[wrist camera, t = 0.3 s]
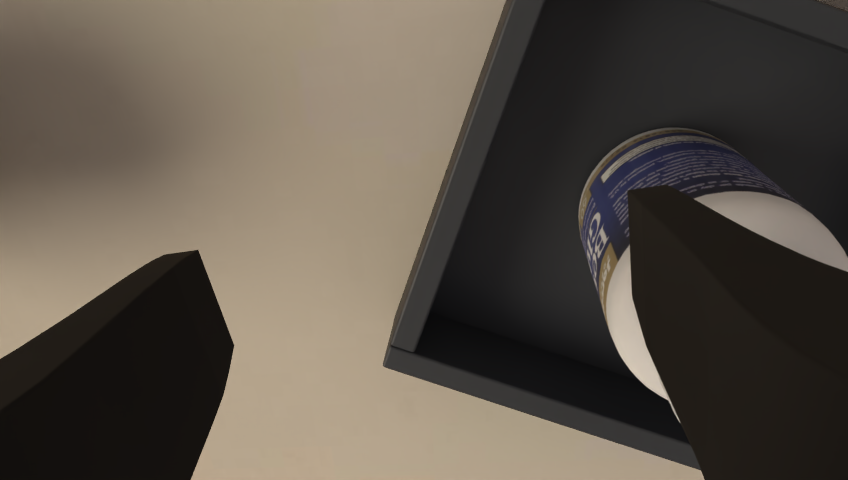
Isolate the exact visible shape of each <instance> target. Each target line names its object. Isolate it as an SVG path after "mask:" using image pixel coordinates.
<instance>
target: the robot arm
mask: <svg viewBox="0 0 848 480" xmlns="http://www.w3.org/2000/svg"><path fill="white" fill-rule="evenodd" d="M627 194H628V217H629V240H630V263H631V287H632V299H633V302H634V306H635V309H636V313H637V316H638V320H639V324H640V327H641V330H642V334H643V337H644V340H645V344H646V347H647V349H648V351H649V354H650V356H651V358H652V361H653V363H654V365H655V367H656V370H657V372H658V374H659V376H660V379H661V381H662V383H663V385H664V388H665V390H666V392H667V394H668V396H669V399H670V401H671V403H672V405H673V407H674V410H675V412H676V414H677V416H678V418H679V421H680V423H681V425H682V427H683V430H684V432H685V434H686V436H687V438H688V441H689V443H690V445H691V447H692V449H693V452H694V454H695V456H696V459H697V461H698V464H699V466H700V469H701V471H702V474H703V476H704V479H705V480H848V272H847V271H844V270H841V269H838V268H836V267H833V266H830V265H827V264H824V263H822V262H819V261H817V260H814V259H812V258H809V257H807V256H805V255H802V254H800V253H798V252H796V251H793V250H791V249H789V248H787V247H785V246H782V245H780V244H778V243H776V242H774V241H771V240H769V239H767V238H765V237H763V236H761V235H759V234H757V233H755V232H753V231H751V230H749V229H747V228H745V227H743V226H742V225H740V224H738V223H736V222H734V221H732V220H730V219H729V218H727V217H725V216H723V215H721V214H720V213H718V212H716V211H714V210H712V209H711V208H709V207H707V206H705V205H704V204H702V203H700V202H698V201H697V200H695V199H693V198H691V197H690V196H688V195H686V194H684V193H683V192H681V191H679V190H677V189H675V188H673V187H671V186H669V185H660V186H653V187H646V188H639V189H632V190H627ZM233 348H234V344H233V341H232V339H231V336H230V333H229V331H228V328H227V325H226V323H225V320H224V317H223V315H222V312H221V309H220V307H219V304H218V301H217V299H216V296H215V294H214V291H213V288H212V286H211V283H210V280H209V278H208V275H207V272H206V270H205V267H204V264H203V262H202V259H201V256H200V254H199V251H198V250H195V251H188V252H180V253H173V254H166V255H163V256H161V257H159V258H157V259H155V260H153V261H151V262H149V263H148V264H146V265H144V266H143V267H141V268H139V269H138V270H136V271H135V272H133V273H131V274H130V275H128V276H127V277H125V278H124V279H122V280H121V281H119V282H118V283H116V284H115V285H113V286H112V287H110V288H109V289H108V290H106V291H105V292H103V293H102V294H100V295H99V296H97V297H96V298H94V299H93V300H91V301H90V302H88V303H87V304H86V305H84V306H83V307H81V308H80V309H78V310H77V311H75V312H74V313H72V314H71V315H69V316H68V317H66V318H65V319H63V320H62V321H60V322H59V323H57V324H55V325H54V326H52V327H51V328H49V329H48V330H46V331H44V332H43V333H41V334H40V335H38V336H37V337H35V338H33V339H32V340H30V341H29V342H27V343H26V344H24V345H23V346H21V347H19V348H18V349H16V350H15V351H13V352H11V353H10V354H8V355H6V356H5V357H3V358H1V359H0V480H191V477H192V475H193V472H194V470H195V467H196V465H197V462H198V460H199V457H200V454H201V452H202V449H203V447H204V444H205V442H206V439H207V437H208V434H209V432H210V429H211V426H212V424H213V421H214V419H215V416H216V413H217V411H218V408H219V405H220V403H221V400H222V397H223V394H224V390H225V386H226V382H227V378H228V374H229V369H230V364H231V359H232V353H233Z"/></svg>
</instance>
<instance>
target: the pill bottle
mask: <svg viewBox="0 0 848 480" xmlns="http://www.w3.org/2000/svg"><path fill="white" fill-rule="evenodd" d="M660 185H669V186H671V187H673V188H675V189H677V190H679V191H681V192H683V193H684V194H686V195H688V196H690V197H691V198H693V199H695V200H697V201H698V202H700V203H702V204H704V205H705V206H707V207H709V208H711V209H712V210H714V211H716V212H718V213H720V214H721V215H723V216H725V217H727V218H729V219H730V220H732V221H734V222H736V223H738V224H740V225H742V226H743V227H745V228H747V229H749V230H751V231H753V232H755V233H757V234H759V235H761V236H763V237H765V238H767V239H769V240H771V241H774V242H776V243H778V244H780V245H782V246H785V247H787V248H789V249H791V250H793V251H796V252H798V253H800V254H802V255H805V256H807V257H809V258H812V259H814V260H817V261H819V262H822V263H824V264H827V265H830V266H833V267H836V268H838V269H841V270H844V271H847V272H848V257H847V255H846V253H845V251H844V250H843V248H842V247H841V245H840V244H839V242H838V241H837V240H836V238H835V237H834V236H833V235H832V234H831V232H830V231H829V230H828V229H827V228H826V227H825V226H824V225H823V224H822V223H821V222H820V221H819V220H818V219H817V218H816V217H815V216H814V215H813V214H812V213H811V212H810V211H808V210H807V209H806V208H804V207H803V206H802V205H801V204H800V203H798V202H797V201H796V200H795V199H793V198H792V197H791V196H790V195H789V194H787V193H786V192H785V191H784V190H783V189H781V188H780V187H779V186H778V185H777V184H775V183H774V182H773V181H772V180H771V179H769V178H768V177H767V176H766V175H765V174H763V173H762V172H761V171H760V170H759V169H758V168H757V167H755V166H754V165H753V164H752V163H751V162H750V161H748V160H747V159H746V158H745V157H743V156H742V155H741V154H740V153H739V152H737V151H736V150H735V149H734V148H732V147H731V146H730V145H728V144H727V143H725V142H723V141H722V140H720V139H718V138H716V137H714V136H712V135H710V134H707V133H704V132H701V131H698V130H693V129H688V128H661V129H655V130H651V131H647V132H644V133H641V134H638V135H636V136H634V137H632V138H630V139H628V140H626V141H624V142H623V143H621V144H620V145H618V146H617V147H615V148H614V149H613V150H611V151H610V152H609V153H608V154H607V155H606V156H605V157H604V158H603V159H602V160H601V161H600V162H599V164H598V165H597V166H596V168H595V169H594V170H593V172H592V173H591V175H590V177H589V178H588V180H587V182H586V184H585V187H584V189H583V192H582V195H581V199H580V204H579V216H578V217H579V229H580V236H581V240H582V244H583V247H584V250H585V253H586V257H587V260H588V263H589V266H590V271H591V274H592V277H593V280H594V282H595V286H596V290H597V293H598V296H599V299H600V303H601V306H602V309H603V312H604V316H605V319H606V322H607V325H608V328H609V331H610V334H611V337H612V339H613V341H614V343H615V346H616V348H617V350H618V352H619V354H620V356H621V358H622V359H623V361H624V362H625V364H626V365H627V366H628V368H629V369H630V370H631V372H632V373H633V374H634V375H635V376H636V377H637V378H638V379H639V380H640V381H641V382H642V383H643V384H644V385H645V386H646V387H648V388H649V389H650V390H652V391H653V392H655V393H656V394H658V395H659V396H661V397H663V398H665V399H667V400H668V401H669V403H670V405H671V407H672V410H673V412H674V414H675V415H676V417H677V419H678V420H679V418H678V416H677V414H676V412H675V410H674V407H673V405H672V403H671V401H670V399H669V396H668V394H667V392H666V390H665V388H664V385H663V383H662V381H661V379H660V376H659V374H658V372H657V370H656V367H655V365H654V363H653V361H652V358H651V356H650V354H649V351H648V349H647V347H646V344H645V340H644V337H643V334H642V330H641V327H640V324H639V320H638V316H637V313H636V309H635V306H634V302H633V299H632V287H631V263H630V240H629V217H628V194H627V190H632V189H639V188H646V187H653V186H660ZM679 422H680V421H679Z"/></svg>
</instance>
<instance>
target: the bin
mask: <svg viewBox="0 0 848 480" xmlns="http://www.w3.org/2000/svg"><path fill="white" fill-rule="evenodd" d="M661 128H688V129H693V130H698V131H701V132H704V133H707V134H710V135H712V136H714V137H716V138H718V139H720V140H722V141H723V142H725V143H727V144H728V145H730V146H731V147H732V148H734V149H735V150H736V151H737V152H739V153H740V154H741V155H742V156H743V157H745V158H746V159H747V160H748V161H750V162H751V163H752V164H753V165H754V166H755V167H757V168H758V169H759V170H760V171H761V172H762V173H763V174H765V175H766V176H767V177H768V178H769V179H771V180H772V181H773V182H774V183H775V184H777V185H778V186H779V187H780V188H781V189H783V190H784V191H785V192H786V193H787V194H789V195H790V196H791V197H792V198H793V199H795V200H796V201H797V202H798V203H800V204H801V205H802V206H803V207H804V208H806V209H807V210H808V211H810V212H811V213H812V214H813V215H814V216H815V217H816V218H817V219H818V220H819V221H820V222H821V223H822V224H823V225H824V226H825V227H826V228H827V229H828V230H829V231H830V232H831V234H832V235H833V236H834V237H835V238H836V240H837V241H838V242H839V244H840V245H841V247H842V248H843V250H844V251H845V253H846V255H847V257H848V12H847V11H844V10H842V9H839V8H836V7H833V6H830V5H828V4H825V3H822V2H819V1H816V0H506V3H505V5H504V8H503V11H502V14H501V17H500V20H499V23H498V25H497V28H496V31H495V34H494V37H493V40H492V42H491V45H490V48H489V51H488V54H487V57H486V59H485V62H484V65H483V68H482V71H481V74H480V77H479V79H478V82H477V85H476V88H475V91H474V94H473V96H472V99H471V102H470V105H469V108H468V111H467V114H466V116H465V119H464V122H463V125H462V128H461V131H460V133H459V136H458V139H457V142H456V145H455V148H454V150H453V153H452V156H451V159H450V162H449V165H448V168H447V170H446V173H445V176H444V179H443V182H442V185H441V187H440V190H439V193H438V196H437V199H436V202H435V204H434V207H433V210H432V213H431V216H430V219H429V222H428V224H427V227H426V230H425V233H424V236H423V239H422V241H421V244H420V247H419V250H418V253H417V256H416V258H415V261H414V264H413V267H412V270H411V273H410V276H409V278H408V281H407V284H406V287H405V290H404V293H403V295H402V298H401V301H400V304H399V307H398V310H397V312H396V315H395V319H394V323H393V327H392V331H391V335H390V338H389V342H388V346H387V350H386V354H385V358H384V362H383V366H384V367H386V368H389V369H392V370H395V371H398V372H401V373H404V374H407V375H410V376H413V377H417V378H420V379H423V380H426V381H429V382H432V383H435V384H438V385H441V386H444V387H447V388H450V389H453V390H456V391H459V392H463V393H466V394H469V395H472V396H475V397H478V398H481V399H484V400H487V401H490V402H493V403H496V404H499V405H502V406H505V407H508V408H512V409H515V410H518V411H521V412H524V413H527V414H530V415H533V416H536V417H539V418H542V419H545V420H548V421H551V422H554V423H558V424H561V425H564V426H567V427H570V428H573V429H576V430H579V431H582V432H585V433H588V434H591V435H594V436H597V437H600V438H604V439H607V440H610V441H613V442H616V443H619V444H622V445H625V446H628V447H631V448H634V449H637V450H640V451H643V452H646V453H650V454H653V455H656V456H659V457H662V458H665V459H668V460H671V461H674V462H677V463H680V464H683V465H686V466H689V467H692V468H696V469H699V470H701V469H700V466H699V464H698V461H697V459H696V456H695V454H694V452H693V449H692V447H691V445H690V443H689V441H688V438H687V436H686V434H685V432H684V430H683V427H682V425H681V423H680V422H679V420H678V419H677V417H676V415H675V414H674V412H673V410H672V407H671V405H670V403H669V401H668V400H667V399H665V398H663V397H661V396H659V395H658V394H656V393H655V392H653V391H652V390H650V389H649V388H648V387H646V386H645V385H644V384H643V383H642V382H641V381H640V380H639V379H638V378H637V377H636V376H635V375H634V374H633V373H632V372H631V370H630V369H629V368H628V366H627V365H626V364H625V362H624V361H623V359H622V358H621V356H620V354H619V352H618V350H617V348H616V346H615V343H614V341H613V339H612V337H611V334H610V331H609V328H608V325H607V322H606V319H605V316H604V312H603V309H602V306H601V303H600V299H599V296H598V293H597V290H596V286H595V282H594V280H593V277H592V274H591V271H590V266H589V263H588V260H587V257H586V253H585V250H584V247H583V244H582V240H581V236H580V229H579V217H578V216H579V204H580V199H581V195H582V192H583V189H584V187H585V184H586V182H587V180H588V178H589V177H590V175H591V173H592V172H593V170H594V169H595V168H596V166H597V165H598V164H599V162H600V161H601V160H602V159H603V158H604V157H605V156H606V155H607V154H608V153H609V152H610V151H611V150H613V149H614V148H615V147H617V146H618V145H620V144H621V143H623V142H624V141H626V140H628V139H630V138H632V137H634V136H636V135H638V134H641V133H644V132H647V131H651V130H655V129H661Z"/></svg>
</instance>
